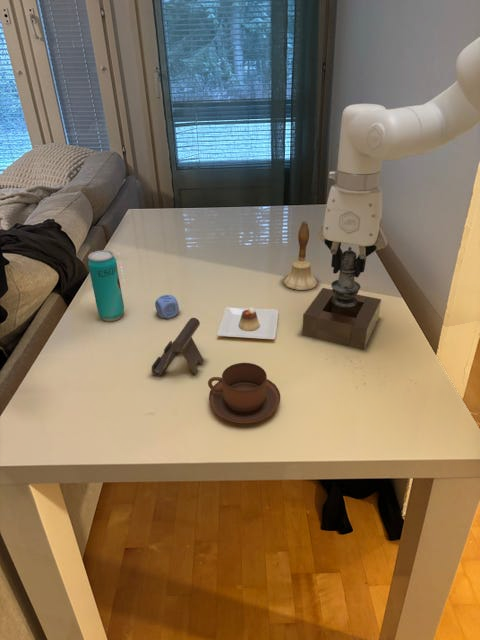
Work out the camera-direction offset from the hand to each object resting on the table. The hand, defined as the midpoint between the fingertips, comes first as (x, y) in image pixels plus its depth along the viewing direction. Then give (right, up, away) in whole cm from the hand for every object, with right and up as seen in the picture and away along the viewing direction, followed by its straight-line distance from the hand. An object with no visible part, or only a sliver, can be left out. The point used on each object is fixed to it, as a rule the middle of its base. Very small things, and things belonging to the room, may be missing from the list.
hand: (347, 271), depth 93 cm
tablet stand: (-33, -18, -4) cm, 38 cm away
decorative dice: (-38, -8, +13) cm, 41 cm away
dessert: (-19, -11, +8) cm, 24 cm away
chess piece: (0, -6, +4) cm, 7 cm away
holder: (0, -11, +7) cm, 13 cm away
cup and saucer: (-21, -24, -14) cm, 35 cm away
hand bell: (-6, 0, +25) cm, 26 cm away
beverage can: (-50, -9, +12) cm, 53 cm away
